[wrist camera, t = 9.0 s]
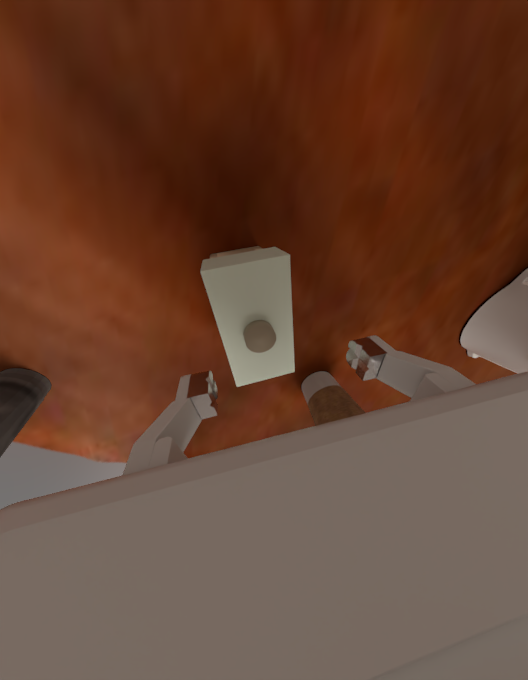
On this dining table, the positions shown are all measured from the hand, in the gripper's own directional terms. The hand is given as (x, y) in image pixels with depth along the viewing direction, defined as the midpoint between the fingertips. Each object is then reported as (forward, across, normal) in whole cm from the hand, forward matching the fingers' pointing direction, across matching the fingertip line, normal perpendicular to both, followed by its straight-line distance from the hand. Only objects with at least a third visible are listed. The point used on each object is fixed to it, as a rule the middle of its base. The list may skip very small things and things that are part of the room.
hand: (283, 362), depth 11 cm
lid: (+8, +1, +1) cm, 8 cm away
